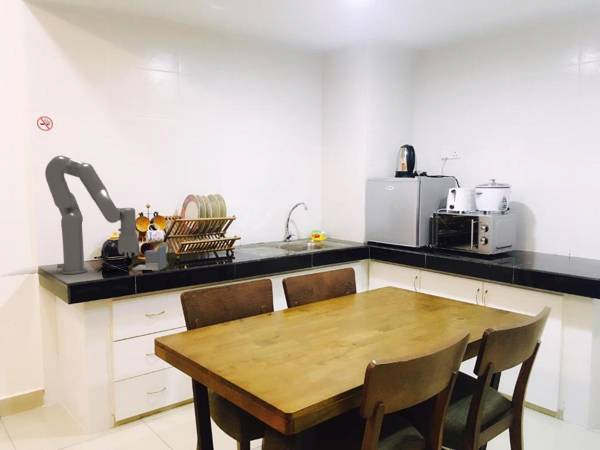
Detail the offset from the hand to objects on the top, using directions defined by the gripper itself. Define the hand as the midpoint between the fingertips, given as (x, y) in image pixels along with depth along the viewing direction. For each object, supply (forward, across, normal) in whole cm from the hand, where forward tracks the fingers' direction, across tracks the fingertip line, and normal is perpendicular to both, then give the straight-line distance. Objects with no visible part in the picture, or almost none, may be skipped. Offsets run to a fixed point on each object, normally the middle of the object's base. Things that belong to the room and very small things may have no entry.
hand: (129, 264), depth 267 cm
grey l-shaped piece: (+2, +11, 0) cm, 11 cm away
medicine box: (+1, +13, 0) cm, 13 cm away
